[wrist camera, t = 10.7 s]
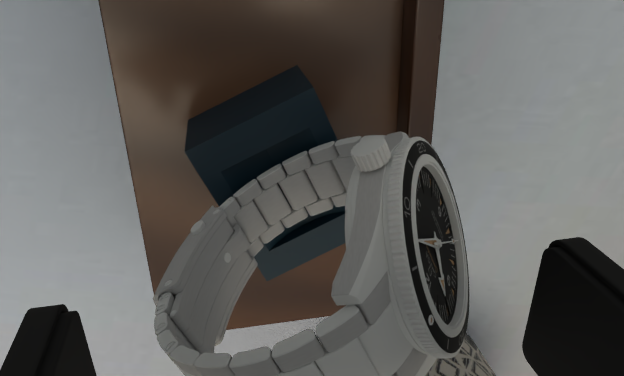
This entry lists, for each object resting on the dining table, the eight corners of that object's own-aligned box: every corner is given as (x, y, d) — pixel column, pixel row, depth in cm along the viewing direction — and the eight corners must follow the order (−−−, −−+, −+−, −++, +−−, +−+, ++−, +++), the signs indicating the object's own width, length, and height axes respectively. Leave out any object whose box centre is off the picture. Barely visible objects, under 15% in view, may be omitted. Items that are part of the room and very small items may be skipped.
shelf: (122, -75, 22) (72, -84, 14) (369, -78, 24) (453, -88, 16) (173, 241, 29) (159, 359, 21) (360, 221, 31) (415, 323, 23)
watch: (399, 166, 20) (573, 372, 11) (220, 255, 21) (231, 534, 11) (346, 37, 18) (512, 151, 8) (142, 140, 18) (66, 371, 8)
